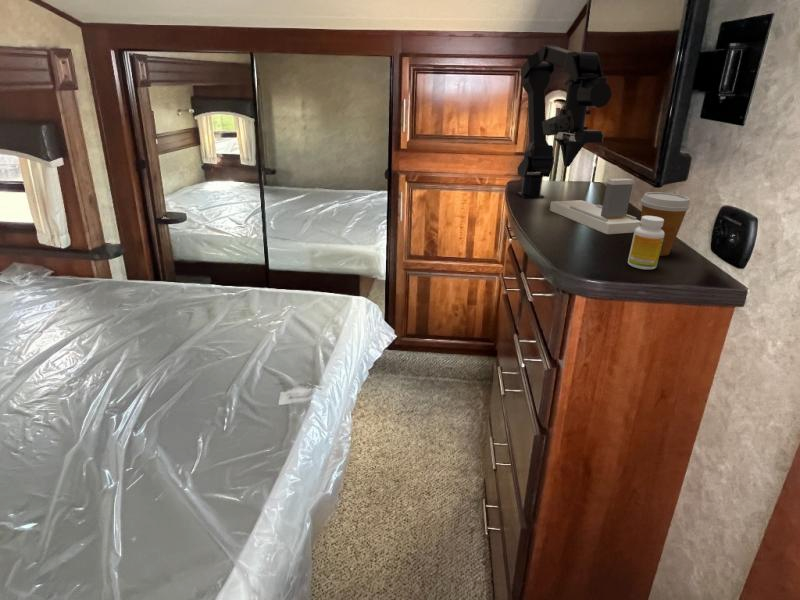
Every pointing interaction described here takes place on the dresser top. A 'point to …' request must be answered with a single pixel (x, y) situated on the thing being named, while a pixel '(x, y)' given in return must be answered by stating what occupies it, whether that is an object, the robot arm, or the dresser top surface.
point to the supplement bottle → (647, 243)
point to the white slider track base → (594, 217)
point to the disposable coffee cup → (666, 214)
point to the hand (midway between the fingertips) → (566, 166)
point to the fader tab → (617, 197)
